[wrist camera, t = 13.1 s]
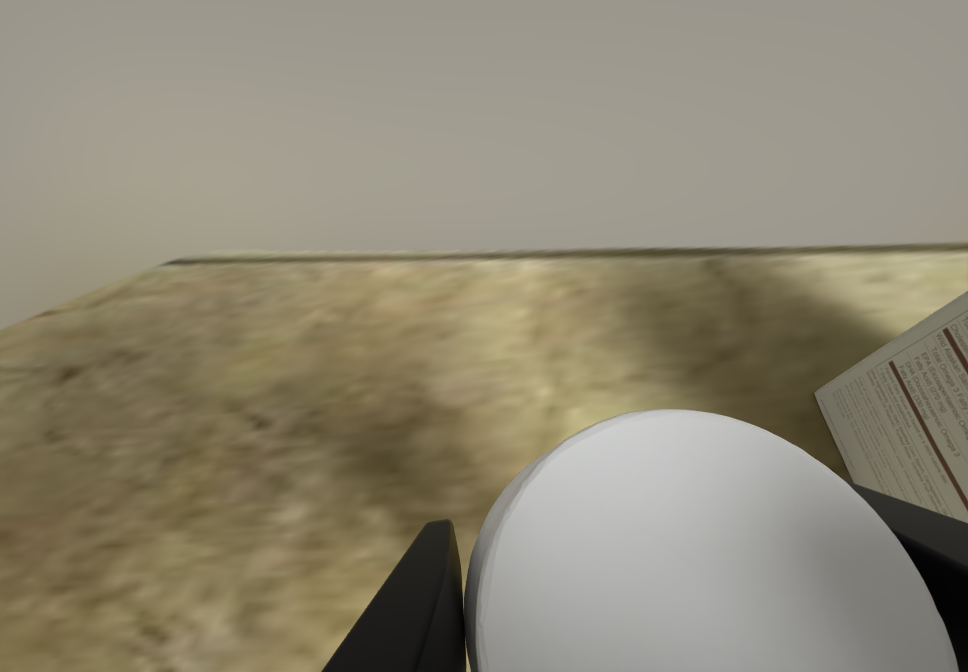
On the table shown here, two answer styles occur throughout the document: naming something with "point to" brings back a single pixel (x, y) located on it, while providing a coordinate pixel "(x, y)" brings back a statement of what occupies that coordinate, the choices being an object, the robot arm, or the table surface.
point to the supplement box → (908, 414)
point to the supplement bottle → (692, 560)
